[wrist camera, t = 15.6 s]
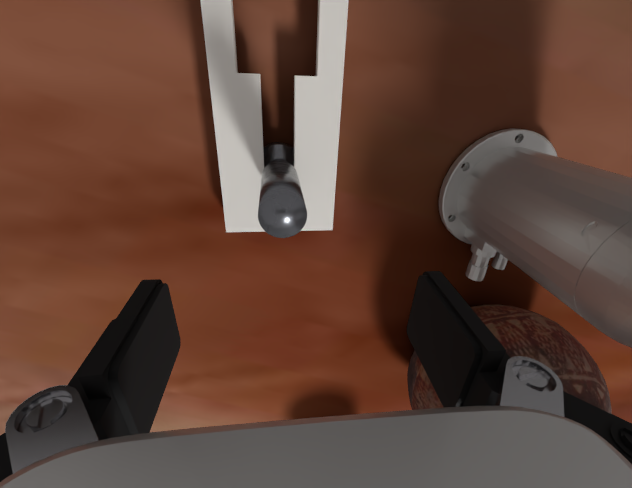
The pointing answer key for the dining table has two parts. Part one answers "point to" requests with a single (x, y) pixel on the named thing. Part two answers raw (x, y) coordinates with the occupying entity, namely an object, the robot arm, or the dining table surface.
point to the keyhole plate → (246, 118)
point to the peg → (281, 193)
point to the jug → (528, 341)
